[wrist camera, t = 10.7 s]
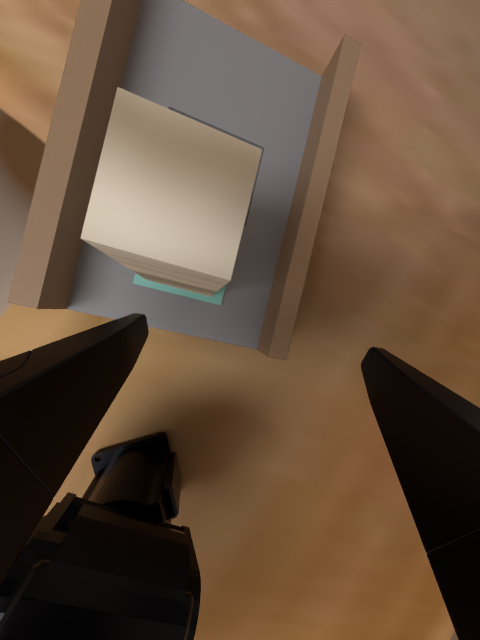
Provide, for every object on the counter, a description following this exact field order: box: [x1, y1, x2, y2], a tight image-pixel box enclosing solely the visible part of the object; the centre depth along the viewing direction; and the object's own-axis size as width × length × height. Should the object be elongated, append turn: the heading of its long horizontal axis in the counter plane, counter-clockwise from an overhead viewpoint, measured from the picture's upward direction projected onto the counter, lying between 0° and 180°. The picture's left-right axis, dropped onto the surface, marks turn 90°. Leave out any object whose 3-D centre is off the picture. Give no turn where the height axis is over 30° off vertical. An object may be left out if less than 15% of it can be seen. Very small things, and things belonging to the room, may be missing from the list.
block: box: [81, 87, 262, 297], centre depth 12 cm, size 5×5×10 cm
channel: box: [7, 0, 361, 360], centre depth 17 cm, size 25×18×6 cm
